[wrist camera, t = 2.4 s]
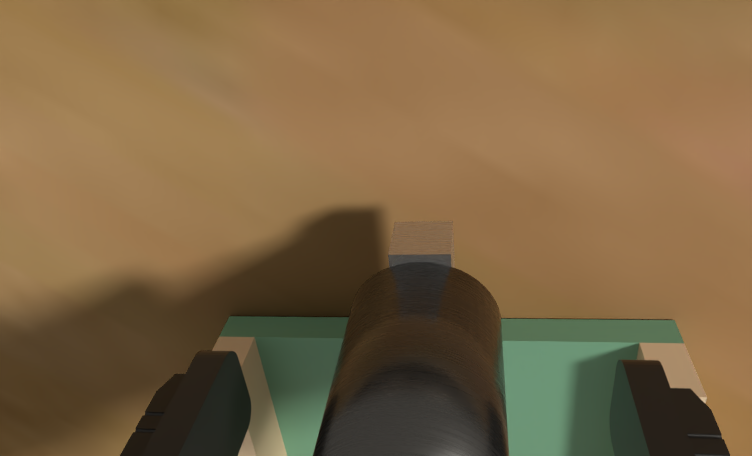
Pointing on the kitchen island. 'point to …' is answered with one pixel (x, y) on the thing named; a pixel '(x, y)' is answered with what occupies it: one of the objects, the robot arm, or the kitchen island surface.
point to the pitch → (521, 371)
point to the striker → (419, 359)
